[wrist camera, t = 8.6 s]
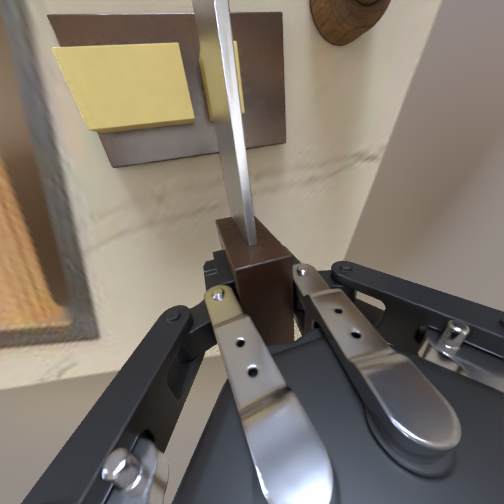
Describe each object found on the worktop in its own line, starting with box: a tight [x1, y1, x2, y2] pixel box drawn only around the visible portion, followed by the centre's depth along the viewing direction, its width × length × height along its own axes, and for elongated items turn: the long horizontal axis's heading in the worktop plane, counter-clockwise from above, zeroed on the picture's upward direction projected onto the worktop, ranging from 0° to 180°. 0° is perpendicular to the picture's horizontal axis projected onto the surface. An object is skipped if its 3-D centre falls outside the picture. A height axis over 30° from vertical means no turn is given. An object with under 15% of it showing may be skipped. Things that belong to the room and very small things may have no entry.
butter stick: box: [52, 43, 195, 133], centre depth 14 cm, size 4×7×3 cm, turn 97°
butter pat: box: [199, 41, 245, 121], centre depth 15 cm, size 4×2×3 cm, turn 8°
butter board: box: [47, 12, 286, 168], centre depth 16 cm, size 9×16×1 cm, turn 97°
